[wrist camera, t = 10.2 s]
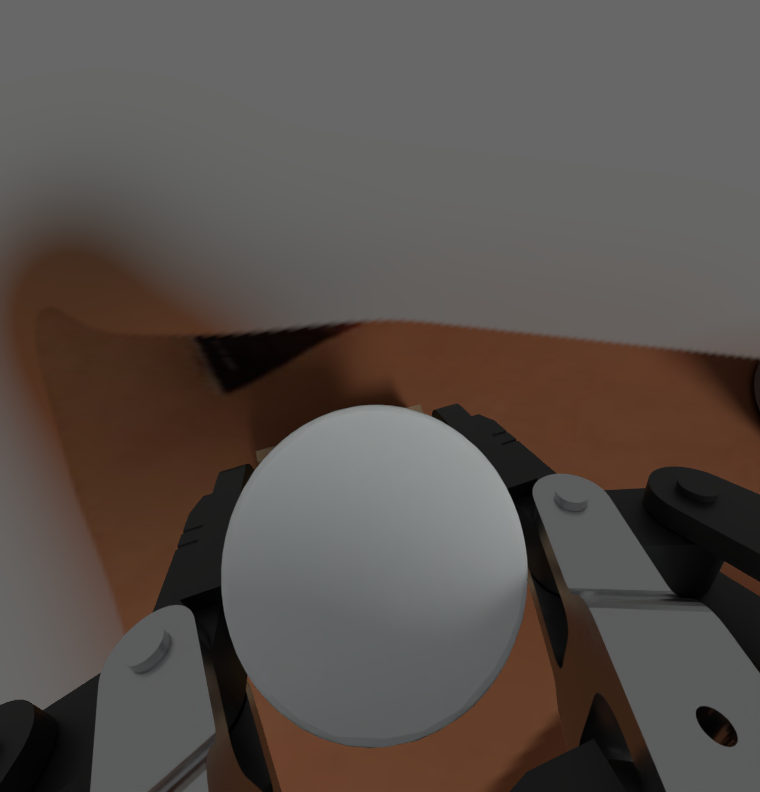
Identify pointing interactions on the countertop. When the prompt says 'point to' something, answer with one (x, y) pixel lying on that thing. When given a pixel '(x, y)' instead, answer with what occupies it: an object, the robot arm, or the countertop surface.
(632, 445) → the countertop surface
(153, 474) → the countertop surface
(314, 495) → the supplement bottle
